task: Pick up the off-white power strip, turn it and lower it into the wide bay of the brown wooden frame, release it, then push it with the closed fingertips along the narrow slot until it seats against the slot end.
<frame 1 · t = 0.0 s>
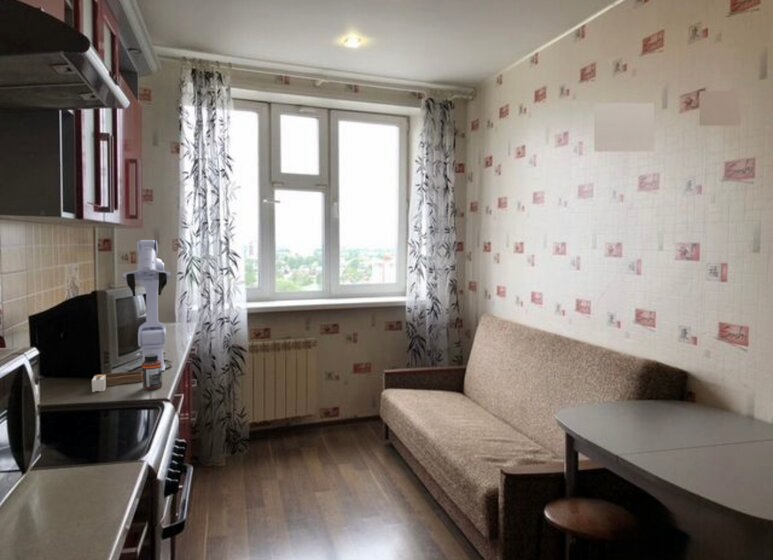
hand: (146, 293, 168), 32 cm above the countertop, tool tilted 50°, fingers open, 7 cm apart
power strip: (99, 389, 171), on the countertop
brown wooden frame: (119, 381, 180), on the countertop
supplement bottle: (152, 388, 172), on the countertop
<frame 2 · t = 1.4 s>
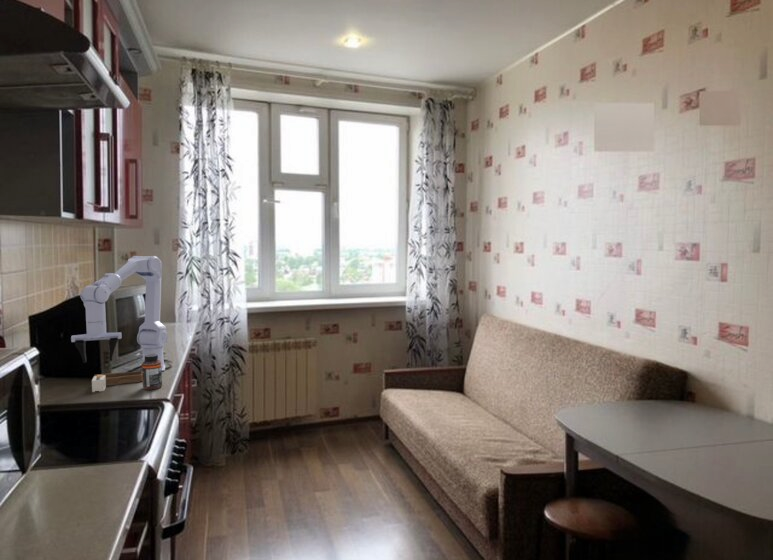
hand: (98, 361, 170), 9 cm above the countertop, tool pointing down, fingers open, 7 cm apart
nothing on the countertop moved.
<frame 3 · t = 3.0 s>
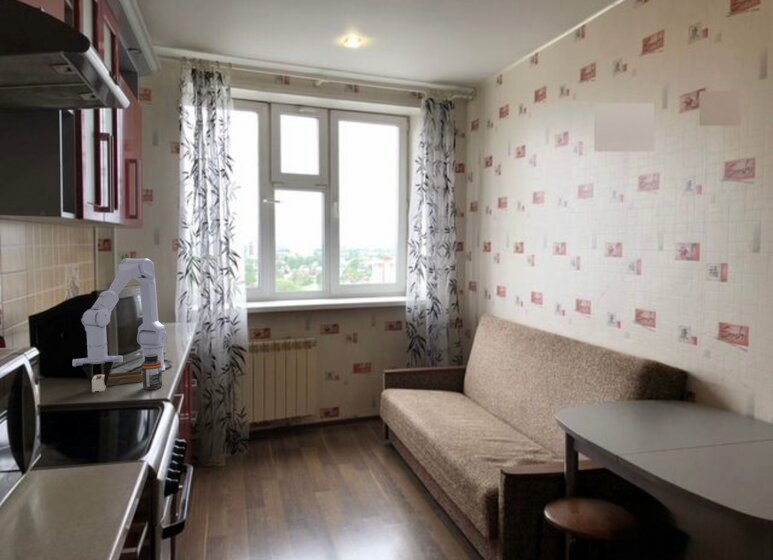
hand: (99, 384, 171), 1 cm above the countertop, tool pointing down, fingers closed on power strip, 3 cm apart
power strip: (99, 389, 171), on the countertop, touching gripper
everything else where it was.
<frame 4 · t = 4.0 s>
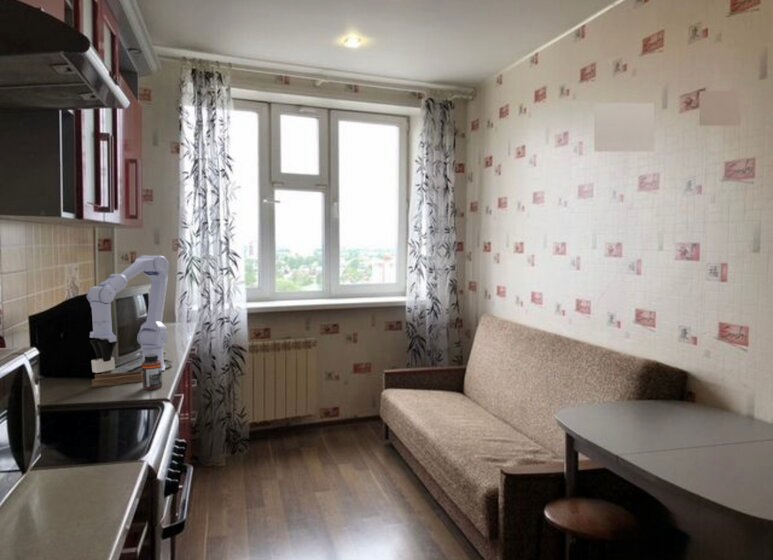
hand: (104, 360, 175), 9 cm above the countertop, tool pointing down, fingers closed on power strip, 3 cm apart
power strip: (103, 370, 175), point 5 cm above the countertop, touching gripper
everything else where it was.
when the fingers open (8 cm above the countertop, at t = 4.4 s): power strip drops 5 cm, resting in brown wooden frame.
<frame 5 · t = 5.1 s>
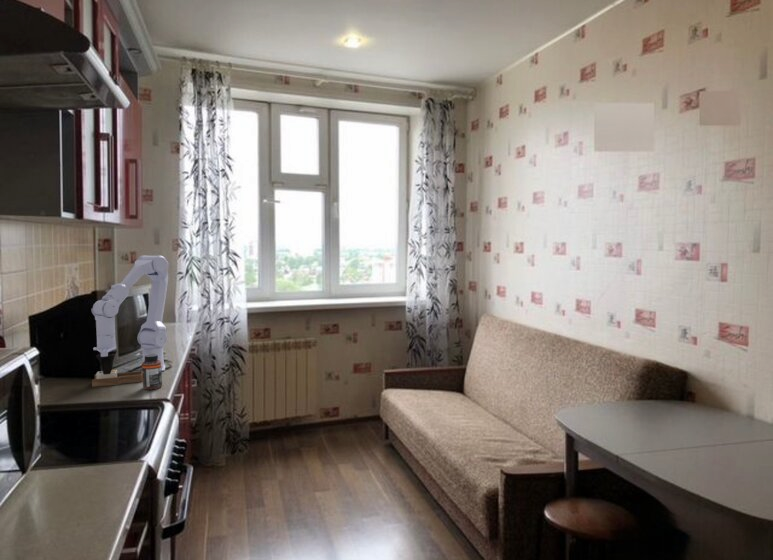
hand: (107, 372, 178), 4 cm above the countertop, tool pointing down, fingers open, 3 cm apart
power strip: (107, 383, 179), resting in brown wooden frame, touching gripper
everything else where it was.
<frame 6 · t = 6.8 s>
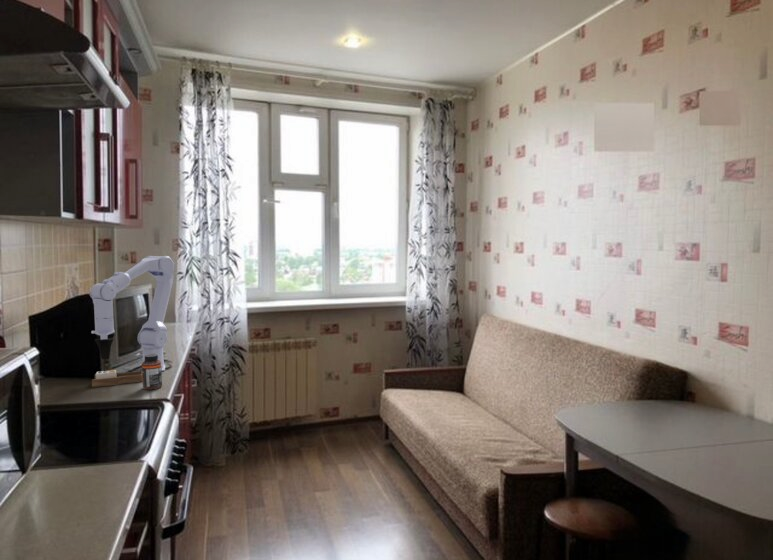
hand: (105, 356, 177), 9 cm above the countertop, tool pointing down, fingers open, 7 cm apart
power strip: (106, 383, 178), resting in brown wooden frame
everything else where it was.
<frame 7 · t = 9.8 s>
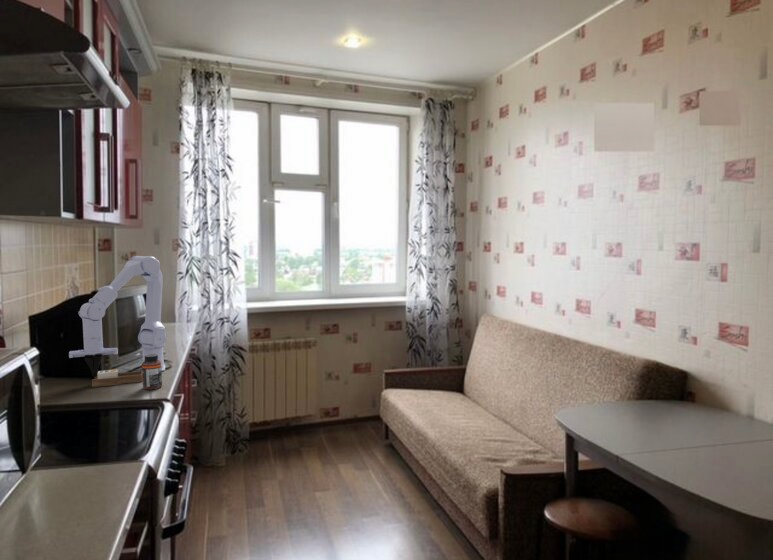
hand: (95, 376, 177), 3 cm above the countertop, tool pointing down, fingers closed
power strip: (108, 382, 179), resting in brown wooden frame, touching gripper
everything else where it was.
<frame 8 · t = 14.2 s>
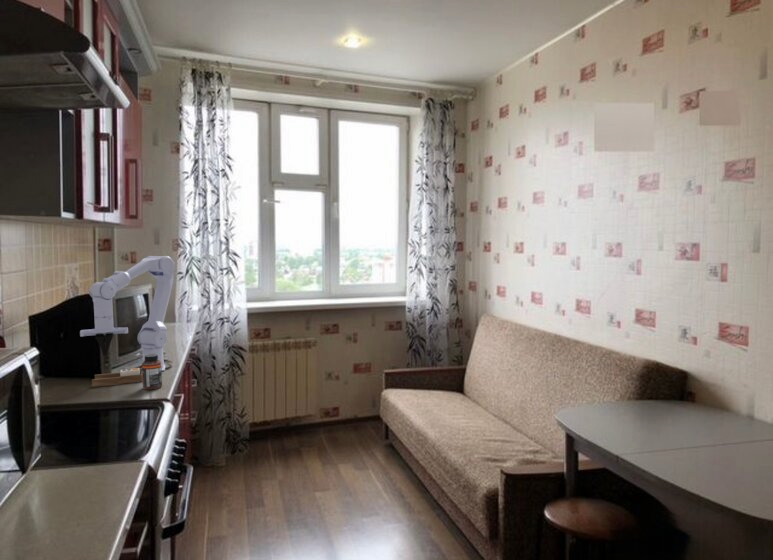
hand: (105, 355, 177), 10 cm above the countertop, tool pointing down, fingers closed
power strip: (130, 380, 181), resting in brown wooden frame
everything else where it was.
at the end: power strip 0.3 cm from the target spot, resting in brown wooden frame; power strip tilted 0° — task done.
